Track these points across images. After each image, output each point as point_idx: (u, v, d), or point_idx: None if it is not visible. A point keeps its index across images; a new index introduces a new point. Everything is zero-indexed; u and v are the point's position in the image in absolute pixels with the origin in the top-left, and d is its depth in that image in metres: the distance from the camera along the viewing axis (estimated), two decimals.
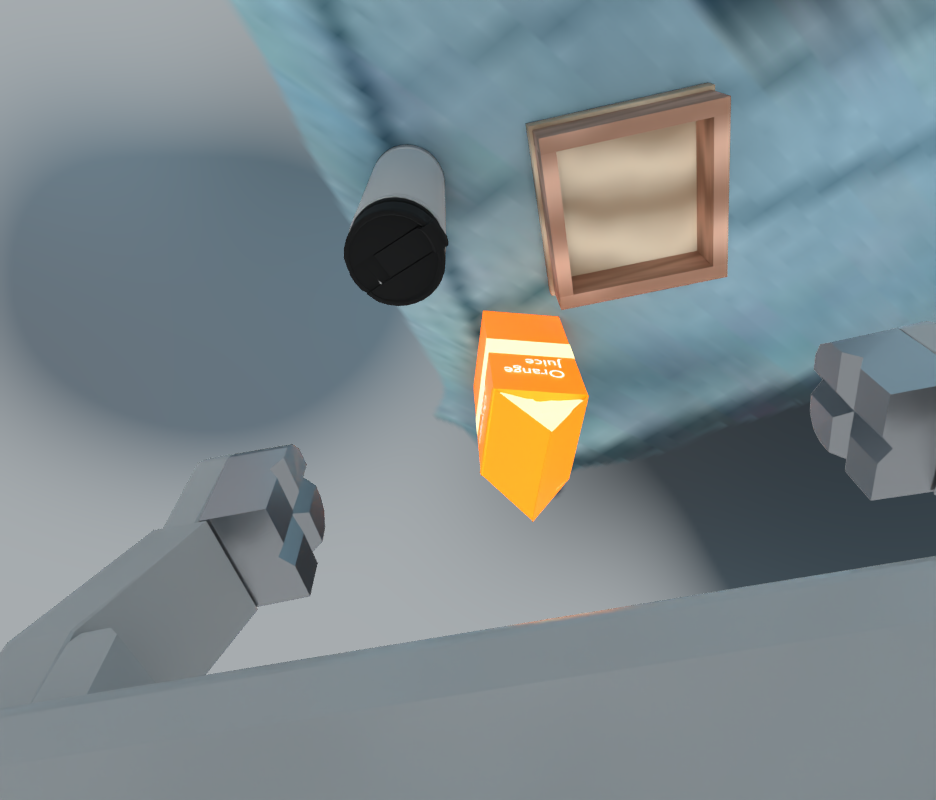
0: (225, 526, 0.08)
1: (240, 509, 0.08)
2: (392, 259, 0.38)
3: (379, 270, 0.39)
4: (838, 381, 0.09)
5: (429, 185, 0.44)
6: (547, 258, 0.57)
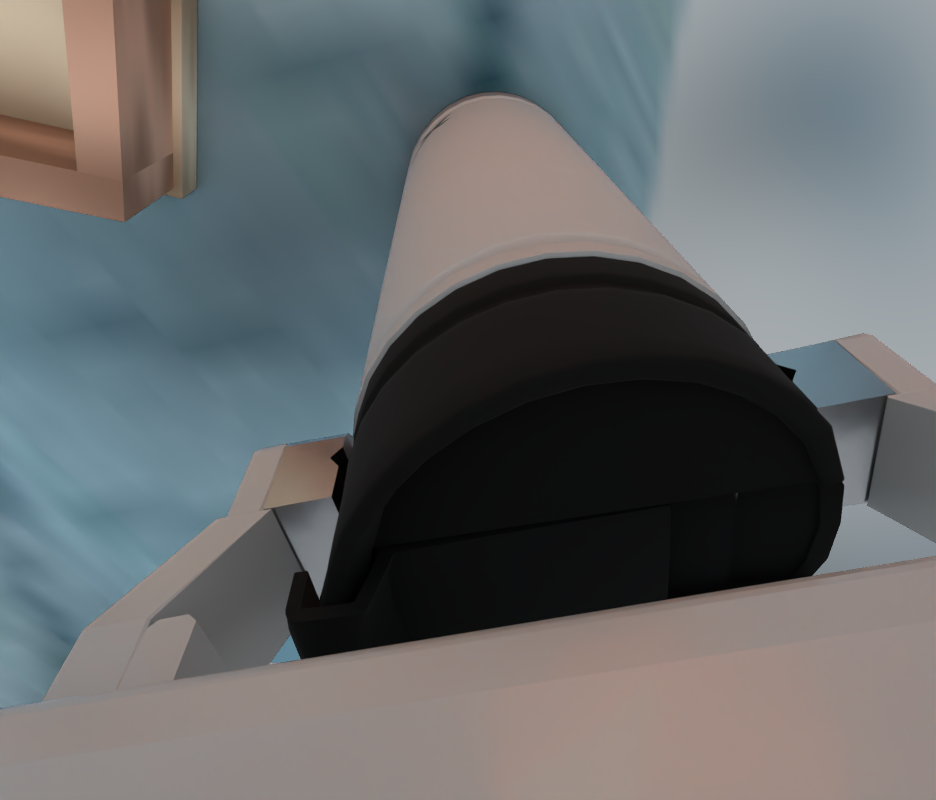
0: (289, 514, 0.08)
1: (304, 497, 0.08)
2: (604, 571, 0.08)
3: (692, 532, 0.08)
4: None
5: None
6: None
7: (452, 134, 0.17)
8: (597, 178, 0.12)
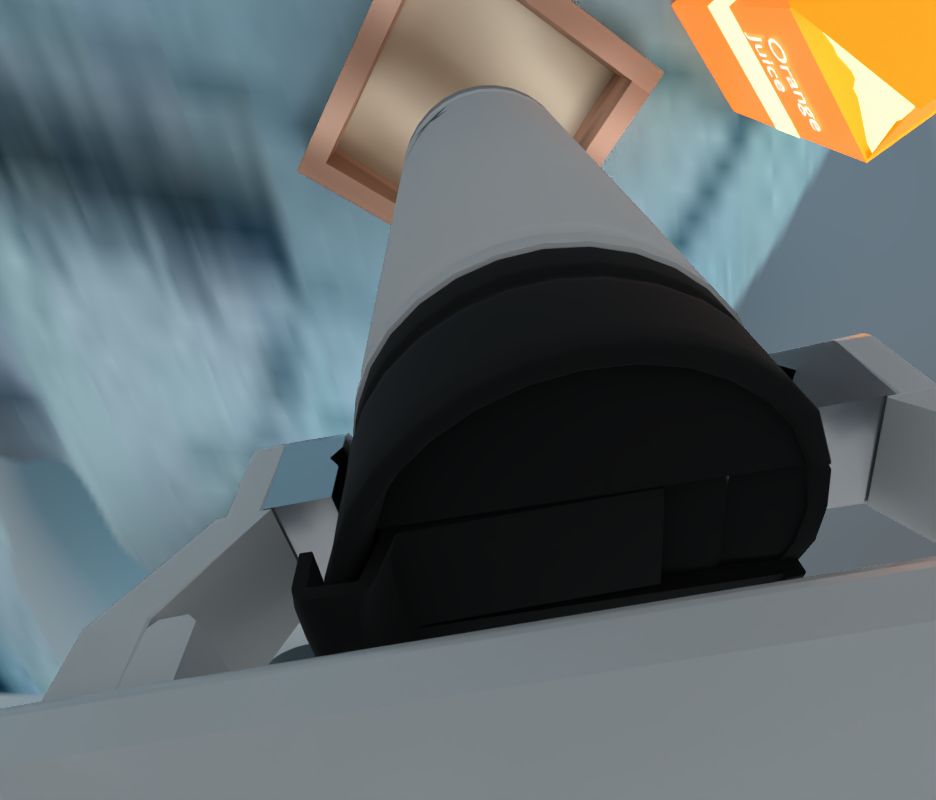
0: (289, 514, 0.08)
1: (304, 497, 0.08)
2: (600, 553, 0.08)
3: (685, 514, 0.08)
4: None
5: None
6: None
7: (449, 127, 0.17)
8: (593, 171, 0.12)
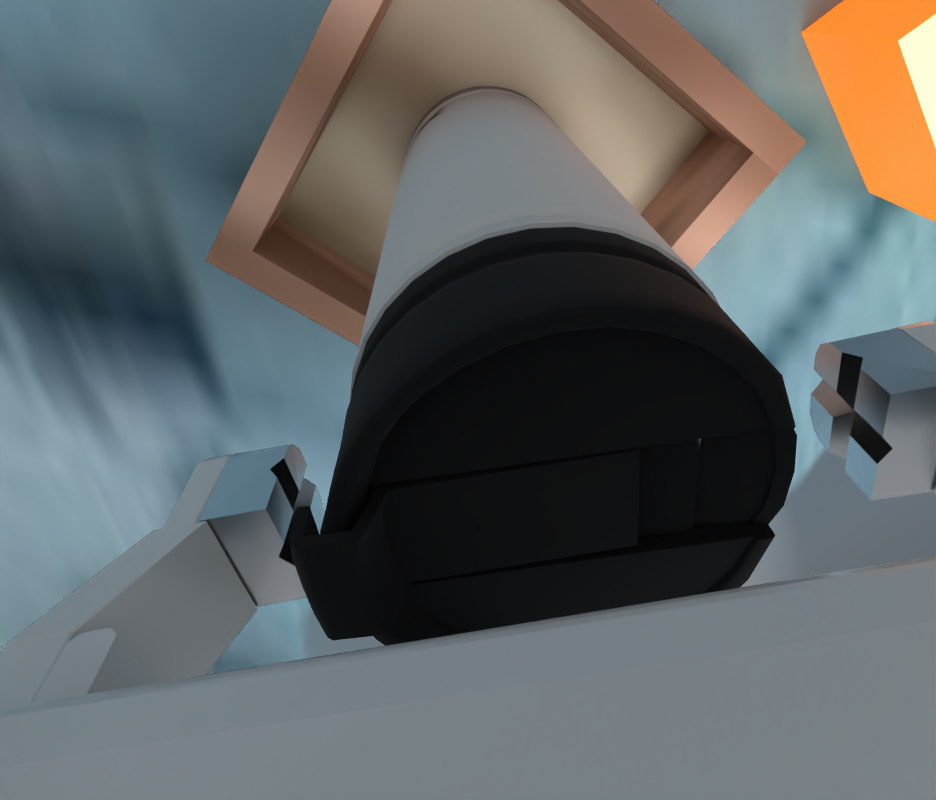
0: (225, 526, 0.08)
1: (240, 509, 0.08)
2: (580, 513, 0.08)
3: (661, 478, 0.08)
4: (838, 381, 0.09)
5: None
6: None
7: (447, 124, 0.18)
8: (583, 164, 0.13)
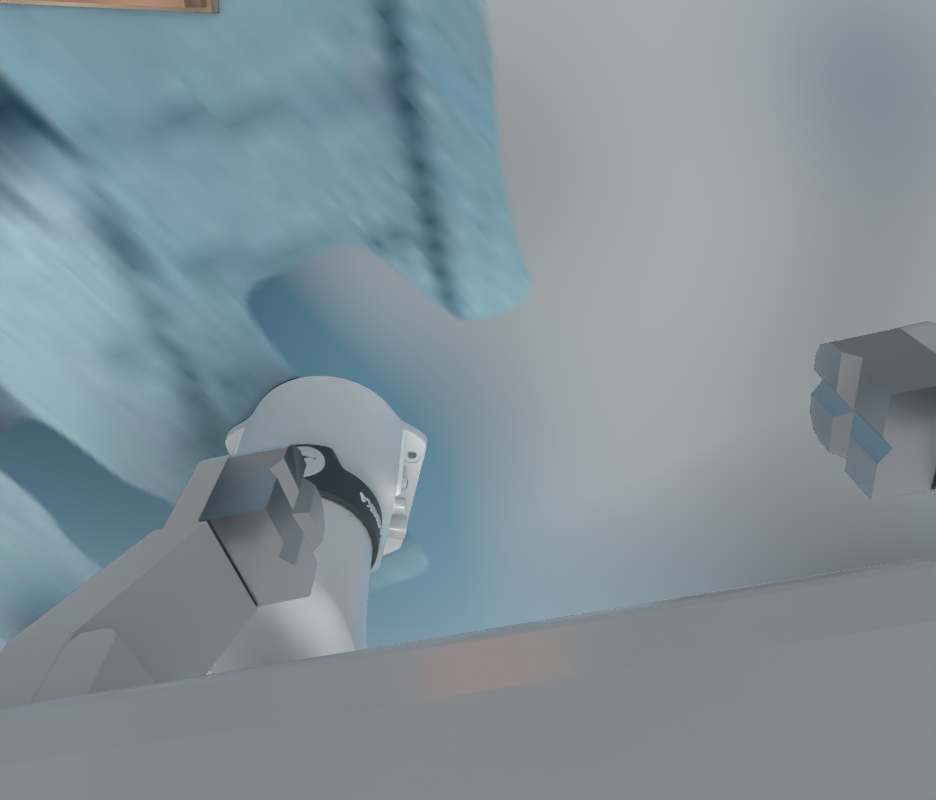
0: (225, 526, 0.08)
1: (240, 509, 0.08)
2: None
3: None
4: (838, 381, 0.09)
5: None
6: None
7: None
8: None
